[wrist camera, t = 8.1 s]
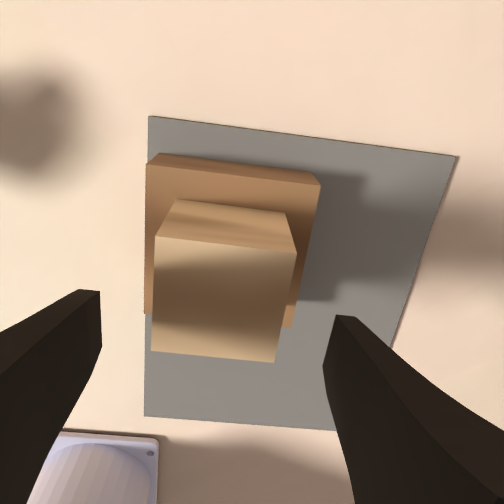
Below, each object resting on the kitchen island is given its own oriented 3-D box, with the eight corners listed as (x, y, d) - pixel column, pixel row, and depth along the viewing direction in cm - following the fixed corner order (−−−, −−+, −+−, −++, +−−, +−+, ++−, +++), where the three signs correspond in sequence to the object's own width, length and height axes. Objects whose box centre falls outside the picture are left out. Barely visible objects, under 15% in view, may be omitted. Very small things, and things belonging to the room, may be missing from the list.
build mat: (358, 429, 25) (359, 432, 25) (144, 412, 24) (143, 416, 24) (452, 155, 18) (456, 157, 17) (149, 115, 17) (148, 116, 16)
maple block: (267, 304, 18) (273, 362, 14) (170, 293, 17) (150, 350, 14) (284, 212, 16) (297, 253, 12) (176, 198, 15) (155, 236, 12)
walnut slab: (286, 300, 20) (291, 327, 18) (155, 286, 20) (143, 313, 18) (311, 171, 18) (320, 185, 15) (158, 152, 17) (145, 164, 15)
